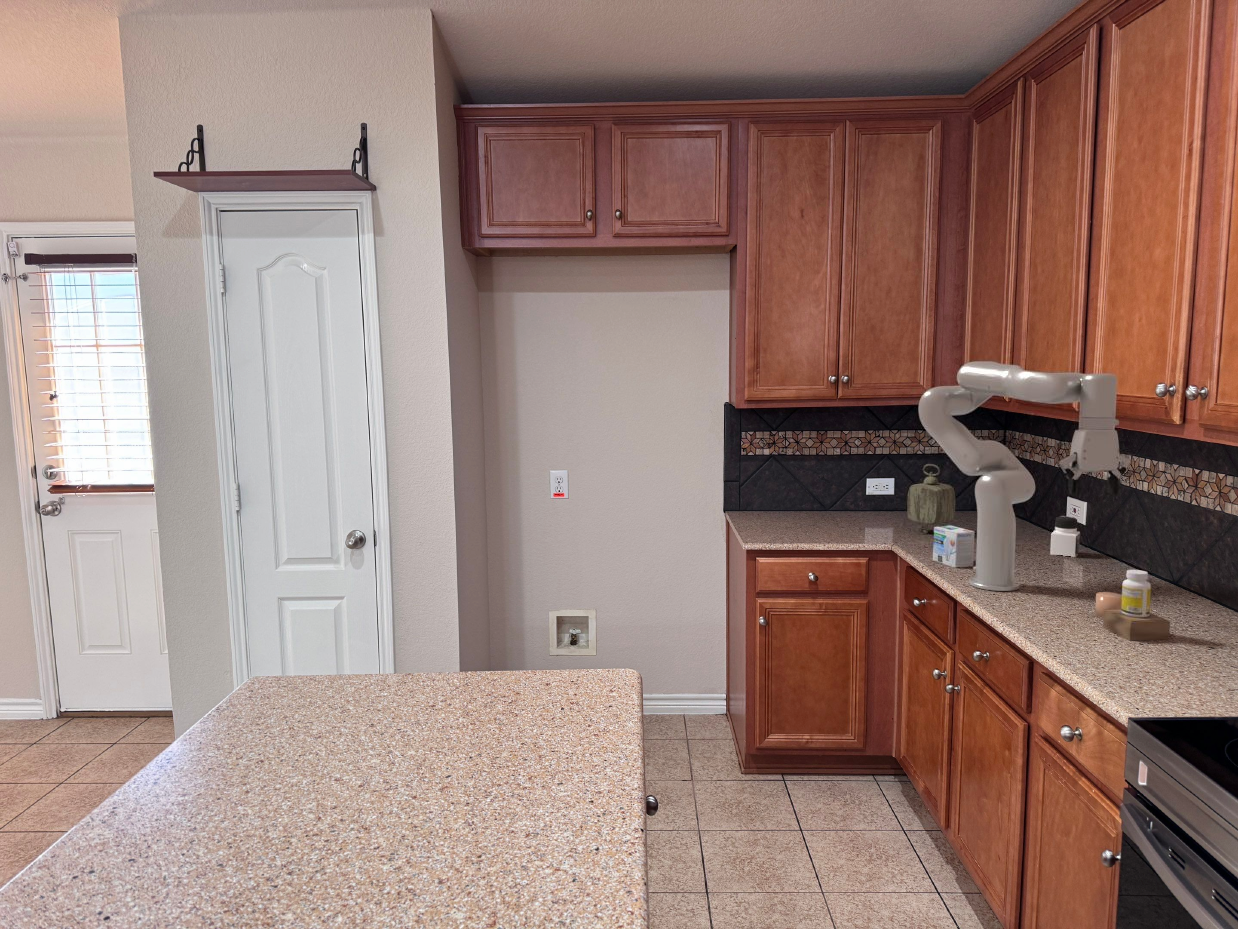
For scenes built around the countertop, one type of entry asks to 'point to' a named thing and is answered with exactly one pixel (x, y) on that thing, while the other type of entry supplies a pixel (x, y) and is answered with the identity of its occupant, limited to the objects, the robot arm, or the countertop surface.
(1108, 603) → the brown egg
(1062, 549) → the medicine bottle
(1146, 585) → the supplement bottle
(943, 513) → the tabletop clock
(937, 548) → the light bulb box
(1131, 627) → the brown square block
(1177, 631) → the countertop surface
